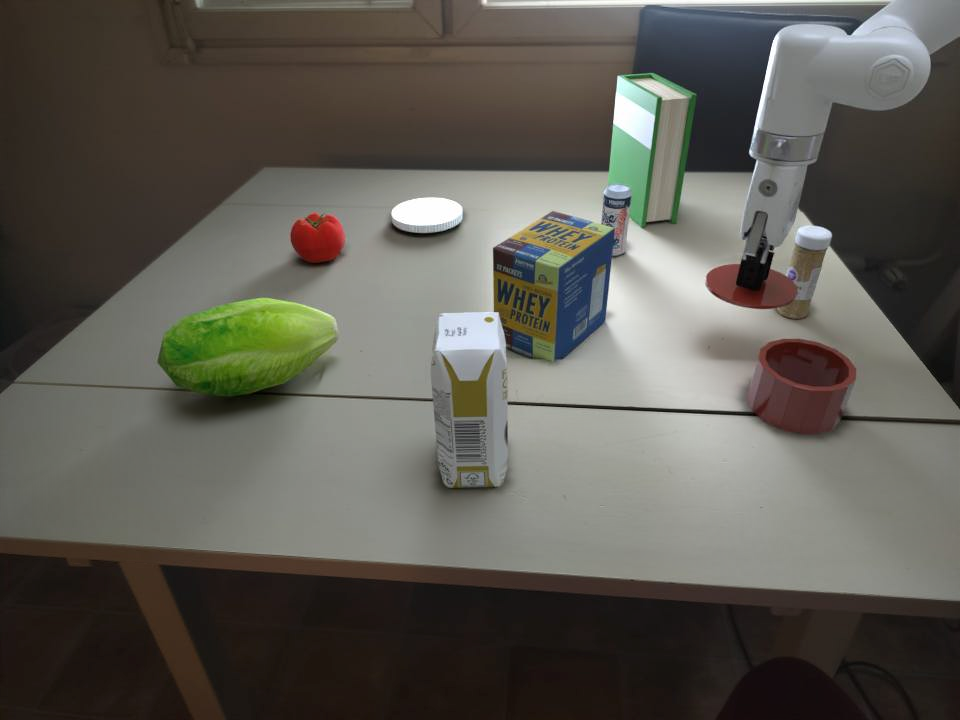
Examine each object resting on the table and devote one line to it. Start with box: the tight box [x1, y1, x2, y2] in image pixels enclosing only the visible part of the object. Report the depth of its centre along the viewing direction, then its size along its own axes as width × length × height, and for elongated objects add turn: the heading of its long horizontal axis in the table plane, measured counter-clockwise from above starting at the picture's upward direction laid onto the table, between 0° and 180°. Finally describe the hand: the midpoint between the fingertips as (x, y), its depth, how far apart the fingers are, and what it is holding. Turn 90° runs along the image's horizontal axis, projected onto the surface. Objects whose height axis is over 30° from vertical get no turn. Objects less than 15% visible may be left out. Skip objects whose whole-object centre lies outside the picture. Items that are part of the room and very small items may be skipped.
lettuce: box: [156, 297, 340, 398], centre depth 87 cm, size 13×23×12 cm, turn 110°
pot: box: [746, 338, 857, 435], centre depth 81 cm, size 11×11×8 cm
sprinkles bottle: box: [776, 225, 833, 320], centre depth 98 cm, size 5×5×13 cm
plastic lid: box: [390, 197, 463, 234], centre depth 132 cm, size 14×14×2 cm
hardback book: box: [607, 72, 698, 228], centre depth 129 cm, size 18×7×24 cm, turn 13°
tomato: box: [289, 211, 346, 264], centre depth 119 cm, size 9×9×8 cm
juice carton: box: [430, 311, 509, 489], centre depth 71 cm, size 8×9×19 cm
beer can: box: [600, 184, 632, 257], centre depth 117 cm, size 5×5×12 cm
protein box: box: [492, 210, 615, 362], centre depth 95 cm, size 10×15×16 cm
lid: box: [704, 245, 798, 310], centre depth 87 cm, size 12×12×7 cm
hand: (751, 281), depth 88 cm, fingers closed on lid, 2 cm apart
